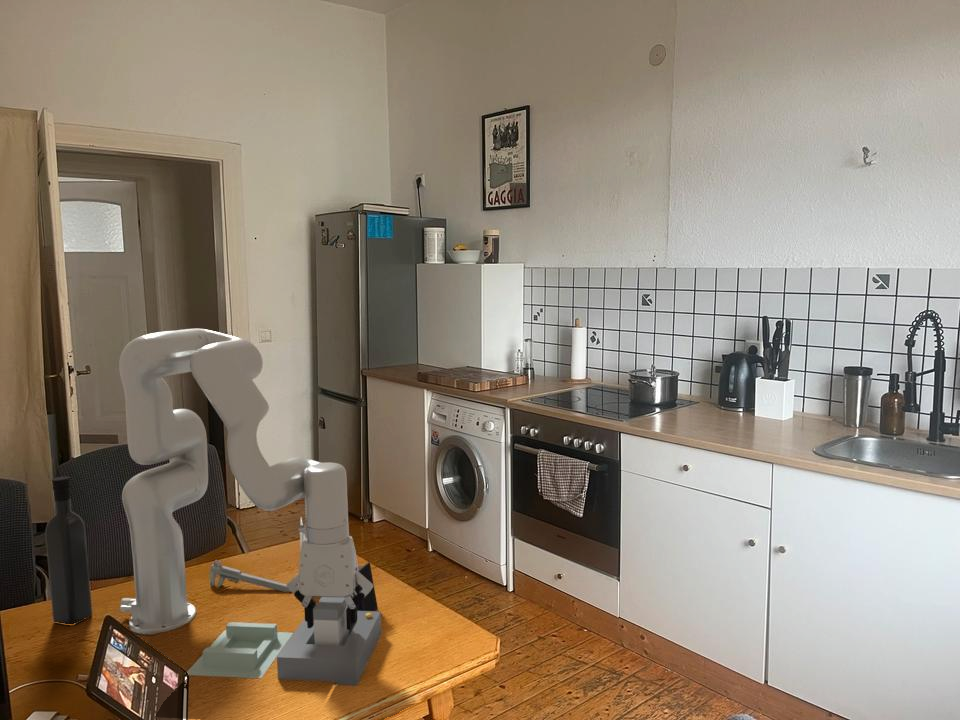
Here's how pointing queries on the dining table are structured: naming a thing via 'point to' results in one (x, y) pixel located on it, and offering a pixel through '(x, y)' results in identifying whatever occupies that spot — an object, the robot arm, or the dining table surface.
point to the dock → (330, 653)
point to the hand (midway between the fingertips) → (331, 624)
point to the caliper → (242, 577)
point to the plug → (330, 621)
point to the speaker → (370, 599)
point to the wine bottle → (67, 559)
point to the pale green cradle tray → (241, 651)
